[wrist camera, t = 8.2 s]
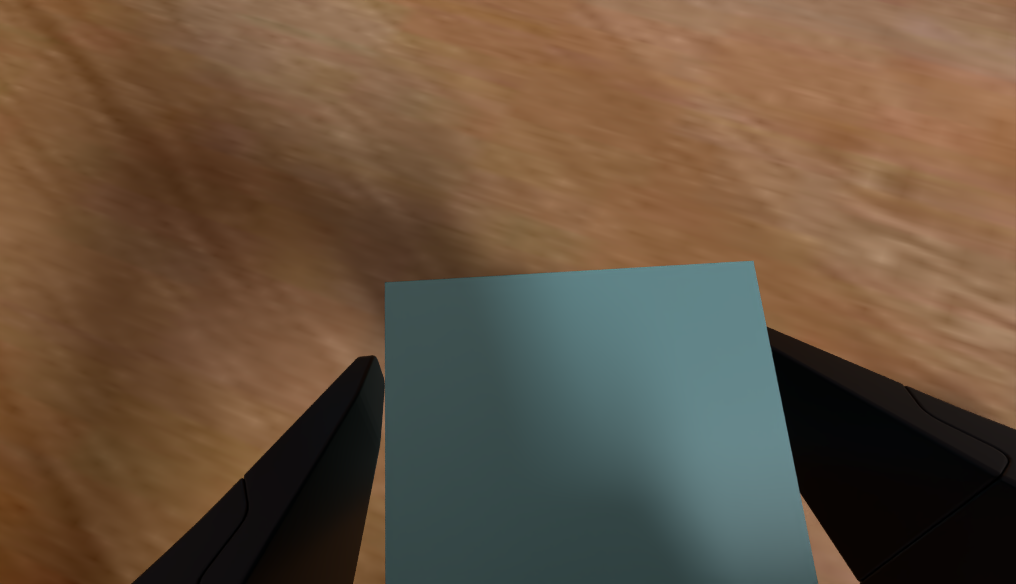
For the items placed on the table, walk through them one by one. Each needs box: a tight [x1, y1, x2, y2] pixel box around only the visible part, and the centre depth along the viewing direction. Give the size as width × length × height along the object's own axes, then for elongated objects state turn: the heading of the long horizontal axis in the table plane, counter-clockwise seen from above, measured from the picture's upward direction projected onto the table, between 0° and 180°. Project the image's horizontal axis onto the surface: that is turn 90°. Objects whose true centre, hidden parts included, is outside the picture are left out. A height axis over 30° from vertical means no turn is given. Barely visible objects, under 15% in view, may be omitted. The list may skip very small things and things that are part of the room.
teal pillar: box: [385, 261, 818, 584], centre depth 11 cm, size 5×5×13 cm
